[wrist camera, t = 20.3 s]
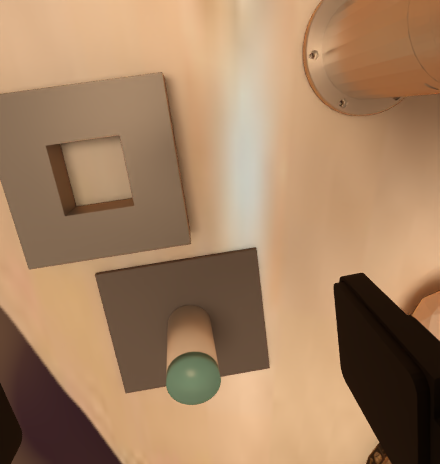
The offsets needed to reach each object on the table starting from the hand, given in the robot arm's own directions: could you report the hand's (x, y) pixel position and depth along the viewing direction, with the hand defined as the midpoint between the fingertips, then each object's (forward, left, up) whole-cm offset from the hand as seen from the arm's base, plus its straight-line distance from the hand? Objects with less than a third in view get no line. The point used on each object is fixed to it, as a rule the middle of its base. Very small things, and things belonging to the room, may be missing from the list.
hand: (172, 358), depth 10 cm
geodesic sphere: (-29, +22, -31) cm, 48 cm away
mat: (+2, +17, -31) cm, 36 cm away
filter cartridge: (+2, +17, -30) cm, 35 cm away
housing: (+8, -2, -31) cm, 32 cm away
